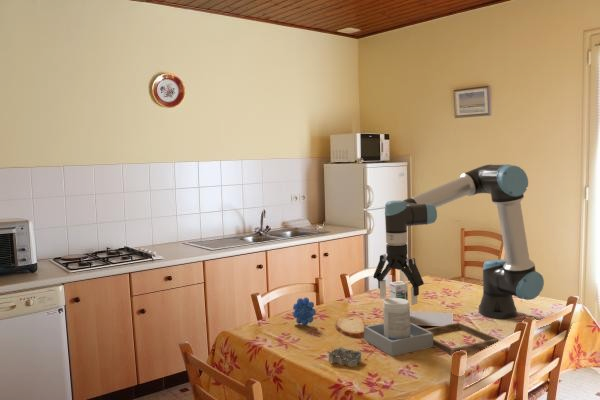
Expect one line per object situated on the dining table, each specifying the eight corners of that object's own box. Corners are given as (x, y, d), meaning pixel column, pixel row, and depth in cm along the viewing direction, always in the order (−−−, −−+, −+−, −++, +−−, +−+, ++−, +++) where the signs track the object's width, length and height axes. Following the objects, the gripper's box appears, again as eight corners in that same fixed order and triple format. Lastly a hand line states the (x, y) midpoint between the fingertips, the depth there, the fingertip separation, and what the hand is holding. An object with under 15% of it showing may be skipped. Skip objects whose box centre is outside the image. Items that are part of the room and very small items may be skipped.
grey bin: (403, 331, 200) (403, 319, 200) (433, 346, 184) (433, 333, 183) (364, 339, 193) (363, 326, 192) (391, 356, 176) (391, 342, 176)
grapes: (322, 325, 210) (321, 296, 209) (312, 329, 205) (311, 300, 204) (300, 320, 218) (299, 292, 217) (289, 324, 212) (288, 296, 211)
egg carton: (325, 362, 173) (325, 351, 173) (336, 355, 180) (336, 344, 179) (353, 369, 167) (353, 357, 167) (364, 361, 174) (363, 349, 173)
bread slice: (362, 340, 193) (361, 330, 193) (322, 331, 204) (322, 322, 203) (383, 326, 208) (383, 317, 207) (345, 319, 218) (345, 310, 218)
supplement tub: (415, 341, 187) (415, 301, 186) (396, 347, 182) (396, 306, 180) (397, 333, 195) (396, 296, 194) (378, 339, 190) (377, 300, 189)
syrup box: (396, 318, 216) (395, 284, 215) (389, 314, 222) (389, 281, 220) (408, 316, 218) (407, 283, 216) (401, 312, 223) (401, 280, 222)
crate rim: (458, 327, 203) (458, 322, 203) (498, 344, 184) (498, 339, 184) (414, 336, 194) (414, 331, 194) (452, 355, 175) (452, 349, 175)
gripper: (362, 242, 191) (364, 297, 193) (420, 248, 173) (422, 309, 175) (375, 238, 196) (377, 292, 198) (432, 245, 179) (434, 304, 181)
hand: (398, 300), depth 187 cm, fingers open, 13 cm apart
